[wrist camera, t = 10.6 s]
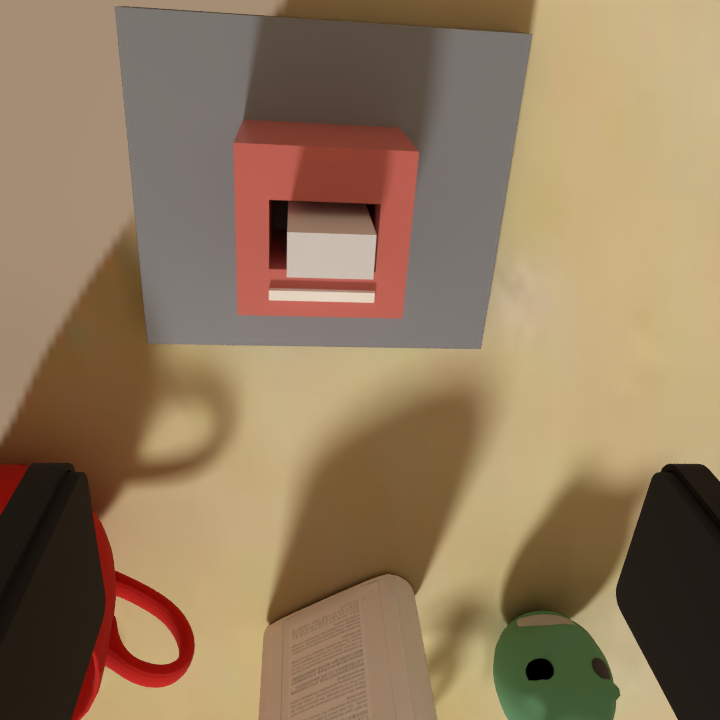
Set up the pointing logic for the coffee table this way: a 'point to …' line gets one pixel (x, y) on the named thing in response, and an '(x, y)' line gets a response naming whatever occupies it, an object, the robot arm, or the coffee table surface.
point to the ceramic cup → (109, 645)
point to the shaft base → (314, 89)
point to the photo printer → (349, 658)
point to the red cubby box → (321, 184)
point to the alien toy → (552, 671)
